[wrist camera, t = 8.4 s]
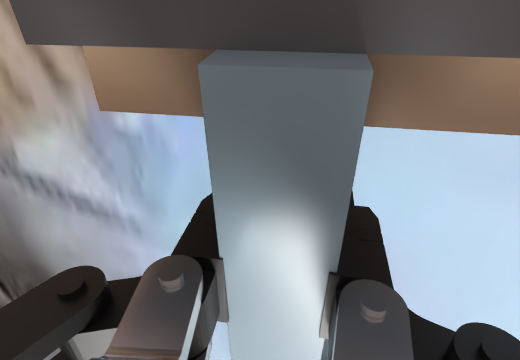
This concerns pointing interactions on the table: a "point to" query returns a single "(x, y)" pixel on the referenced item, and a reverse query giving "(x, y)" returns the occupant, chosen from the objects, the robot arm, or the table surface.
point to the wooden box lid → (380, 98)
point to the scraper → (281, 124)
